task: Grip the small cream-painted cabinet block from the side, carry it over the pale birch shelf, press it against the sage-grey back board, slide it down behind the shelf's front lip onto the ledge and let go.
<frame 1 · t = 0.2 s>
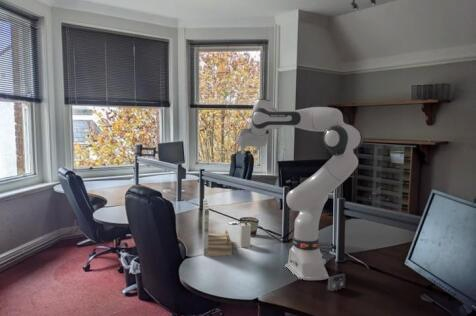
hand: (248, 153, 195), 51 cm above the table, tool tilted 15°, fingers open, 8 cm apart
cabinet block: (244, 245, 203), on the table
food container: (249, 234, 224), on the table
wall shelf: (218, 247, 199), on the table
mini dv tape: (336, 289, 152), on the table
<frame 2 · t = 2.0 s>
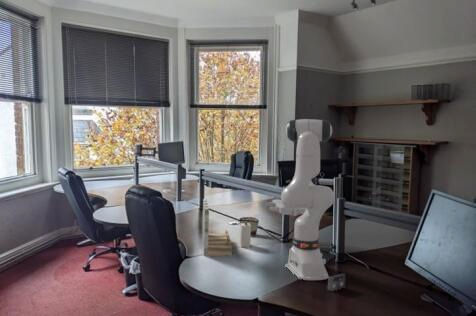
hand: (267, 206, 202), 22 cm above the table, tool horizontal, fingers open, 8 cm apart
nothing on the table moved.
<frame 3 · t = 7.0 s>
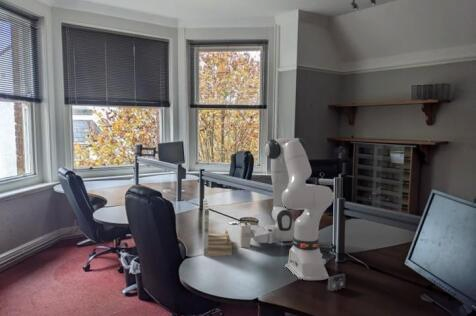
hand: (243, 233, 202), 7 cm above the table, tool horizontal, fingers closed on cabinet block, 5 cm apart
cabinet block: (244, 245, 203), on the table, touching gripper
everything else where it was.
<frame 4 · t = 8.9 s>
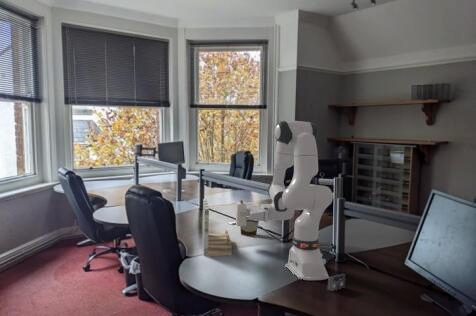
hand: (239, 212, 200), 19 cm above the table, tool horizontal, fingers closed on cabinet block, 5 cm apart
cabinet block: (241, 224, 201), point 12 cm above the table, touching gripper
everything else where it was.
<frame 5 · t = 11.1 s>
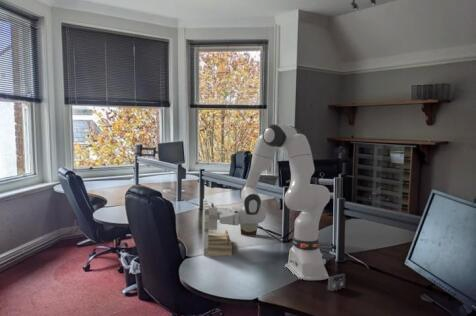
hand: (209, 215, 196), 18 cm above the table, tool horizontal, fingers closed on cabinet block, 5 cm apart
cabinet block: (211, 228, 197), point 11 cm above the table, touching gripper
everything else where it was.
when the fingers open (12 cm above the table, at t = 12.6 s): cabinet block stays where it is, resting on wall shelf.
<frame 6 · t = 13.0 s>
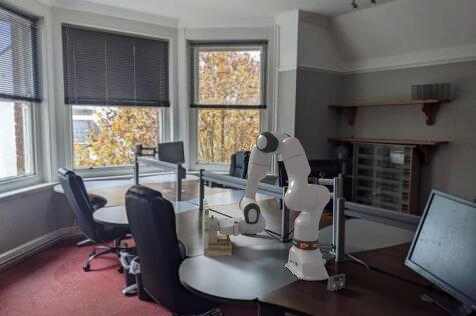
hand: (209, 225, 197), 12 cm above the table, tool horizontal, fingers open, 8 cm apart
cabinet block: (211, 240, 198), point 4 cm above the table, touching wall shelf
everything else where it was.
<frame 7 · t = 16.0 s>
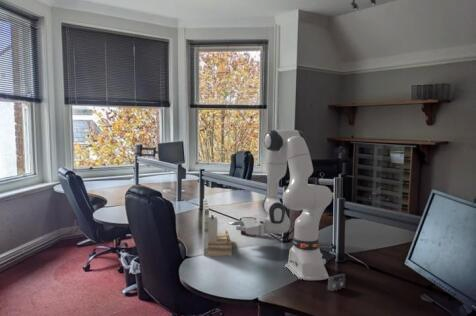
hand: (235, 225, 199), 12 cm above the table, tool horizontal, fingers open, 8 cm apart
nothing on the table moved.
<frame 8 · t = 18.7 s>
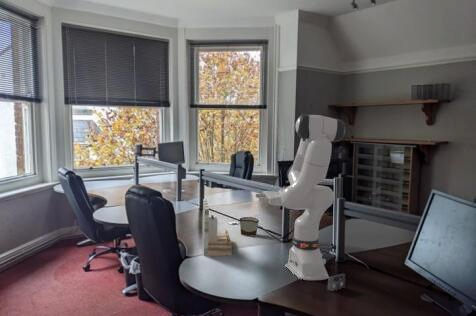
hand: (257, 197, 196), 28 cm above the table, tool horizontal, fingers open, 8 cm apart
nothing on the table moved.
at the end: cabinet block inside the target area (1.4 cm from its centre), point 4.0 cm above the table; cabinet block tilted 0°; the gripper is holding nothing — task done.
